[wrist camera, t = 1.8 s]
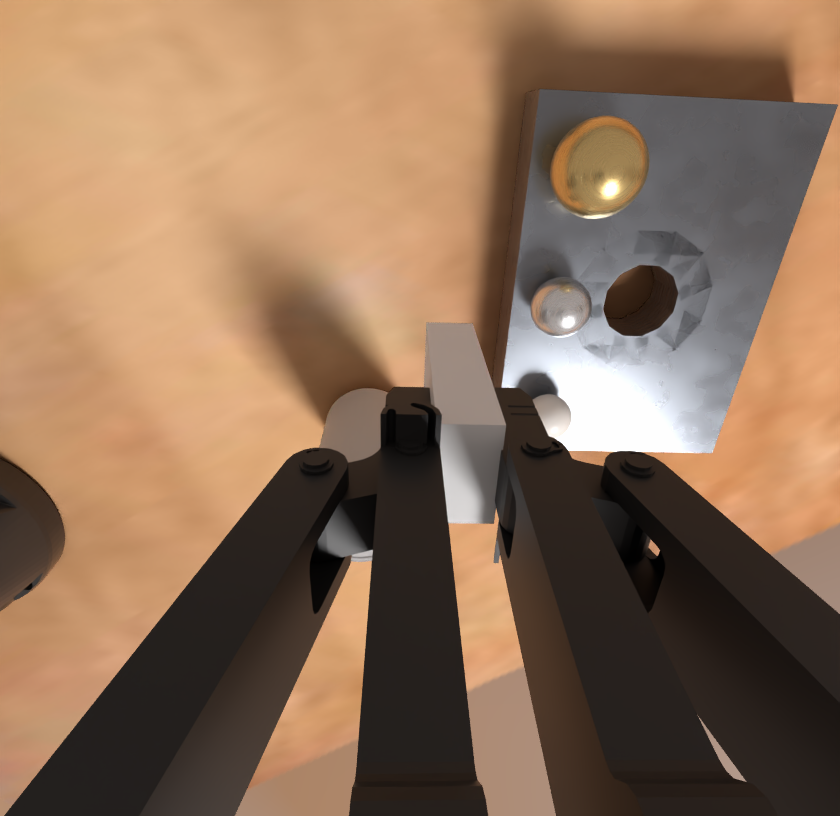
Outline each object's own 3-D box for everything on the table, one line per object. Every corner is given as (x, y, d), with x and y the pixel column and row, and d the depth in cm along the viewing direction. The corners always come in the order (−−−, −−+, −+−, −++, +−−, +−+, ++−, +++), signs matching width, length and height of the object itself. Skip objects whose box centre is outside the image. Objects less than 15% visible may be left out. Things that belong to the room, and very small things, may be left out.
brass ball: (534, 210, 30) (556, 224, 26) (548, 113, 28) (574, 111, 24) (617, 213, 30) (652, 228, 26) (637, 118, 28) (678, 117, 24)
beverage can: (352, 368, 38) (333, 461, 28) (427, 408, 40) (436, 510, 29) (313, 433, 41) (281, 542, 30) (385, 468, 42) (379, 582, 32)
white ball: (518, 424, 37) (527, 447, 34) (524, 385, 35) (533, 407, 33) (560, 425, 37) (572, 448, 34) (568, 387, 36) (581, 408, 33)
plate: (486, 423, 41) (493, 448, 38) (526, 92, 30) (539, 89, 27) (689, 428, 41) (712, 453, 38) (794, 106, 31) (837, 104, 28)
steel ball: (521, 325, 33) (533, 345, 30) (529, 269, 32) (542, 284, 29) (575, 326, 34) (593, 347, 30) (586, 271, 32) (606, 287, 29)
